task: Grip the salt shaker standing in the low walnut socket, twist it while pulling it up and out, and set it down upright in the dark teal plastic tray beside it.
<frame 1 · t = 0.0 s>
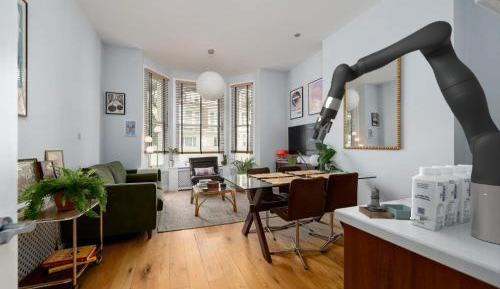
hand: (317, 139, 102), 31 cm above the counter, tool tilted 20°, fingers open, 8 cm apart
teal tray: (399, 216, 86), on the counter
salt shaker: (374, 215, 86), resting in walnut socket
walnut socket: (374, 214, 86), on the counter
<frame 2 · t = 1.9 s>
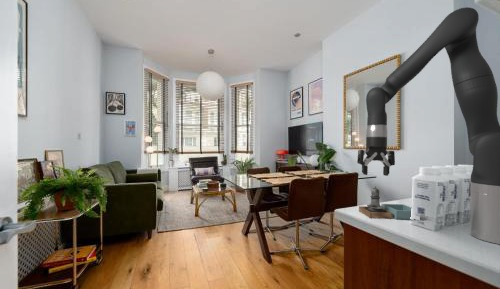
hand: (375, 175, 86), 17 cm above the counter, tool pointing down, fingers open, 8 cm apart
nothing on the counter moved.
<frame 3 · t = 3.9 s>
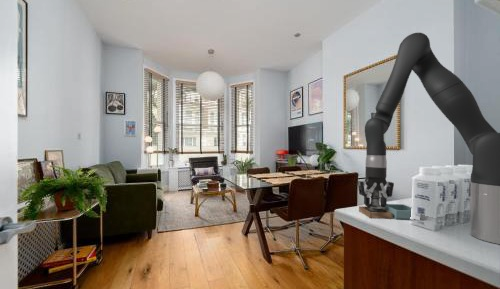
hand: (375, 206, 86), 4 cm above the counter, tool pointing down, fingers closed on salt shaker, 6 cm apart
salt shaker: (374, 215, 86), resting in walnut socket, touching gripper
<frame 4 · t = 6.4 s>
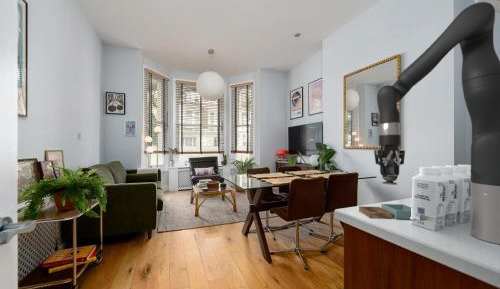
hand: (389, 174, 86), 17 cm above the counter, tool pointing down, fingers closed on salt shaker, 6 cm apart
salt shaker: (389, 184, 85), point 13 cm above the counter, touching gripper
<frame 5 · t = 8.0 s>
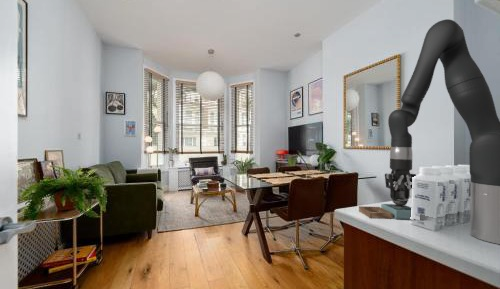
hand: (399, 198, 86), 7 cm above the counter, tool pointing down, fingers closed on salt shaker, 6 cm apart
salt shaker: (399, 207, 86), point 3 cm above the counter, touching gripper
when the fingers open (5 cm above the counter, at t = 9.2 s): salt shaker drops 1 cm, resting on teal tray.
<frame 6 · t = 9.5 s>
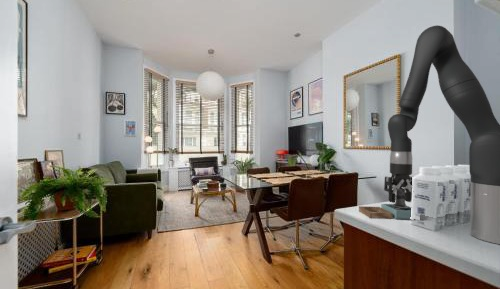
hand: (400, 201, 86), 6 cm above the counter, tool pointing down, fingers open, 8 cm apart
salt shaker: (399, 214, 86), resting on teal tray
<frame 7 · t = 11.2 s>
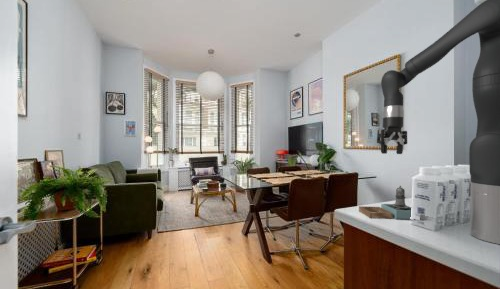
hand: (391, 153, 91), 26 cm above the counter, tool pointing down, fingers open, 8 cm apart
nothing on the counter moved.
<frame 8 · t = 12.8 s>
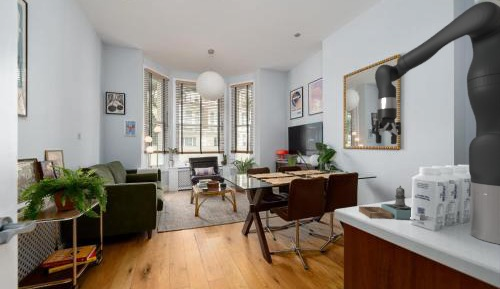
hand: (386, 143, 95), 30 cm above the counter, tool pointing down, fingers open, 8 cm apart
nothing on the counter moved.
at the end: salt shaker 0.0 cm from the teal tray (horizontally); salt shaker tilted 0°; salt shaker resting on teal tray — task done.
